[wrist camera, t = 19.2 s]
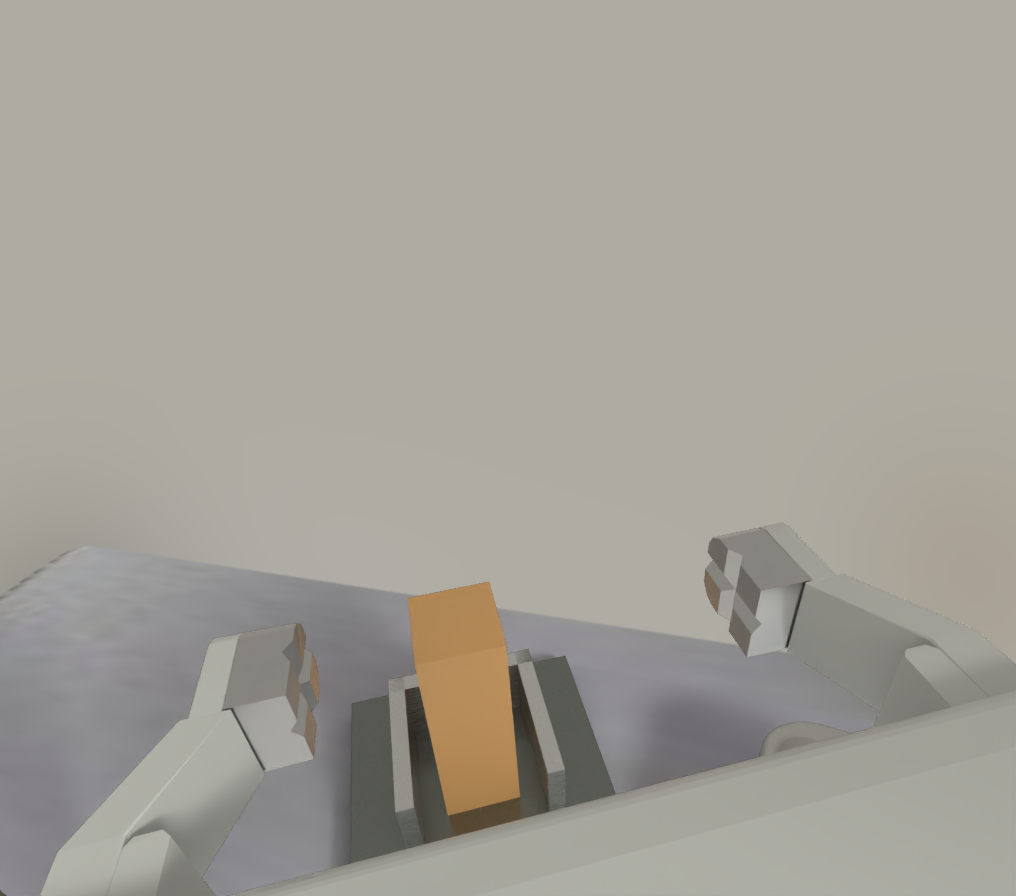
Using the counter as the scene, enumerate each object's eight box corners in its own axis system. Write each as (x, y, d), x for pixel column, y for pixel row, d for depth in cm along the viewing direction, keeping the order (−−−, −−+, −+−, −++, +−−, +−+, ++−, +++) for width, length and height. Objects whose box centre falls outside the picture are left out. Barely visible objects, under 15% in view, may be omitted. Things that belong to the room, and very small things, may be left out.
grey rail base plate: (636, 867, 34) (642, 813, 31) (355, 947, 32) (331, 898, 29) (565, 668, 46) (564, 614, 43) (355, 716, 44) (338, 662, 40)
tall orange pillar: (504, 730, 40) (489, 581, 33) (520, 797, 37) (506, 645, 29) (439, 746, 40) (408, 597, 32) (447, 815, 36) (414, 665, 28)
